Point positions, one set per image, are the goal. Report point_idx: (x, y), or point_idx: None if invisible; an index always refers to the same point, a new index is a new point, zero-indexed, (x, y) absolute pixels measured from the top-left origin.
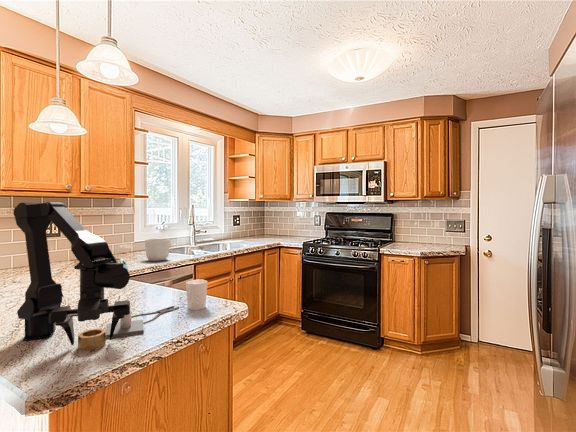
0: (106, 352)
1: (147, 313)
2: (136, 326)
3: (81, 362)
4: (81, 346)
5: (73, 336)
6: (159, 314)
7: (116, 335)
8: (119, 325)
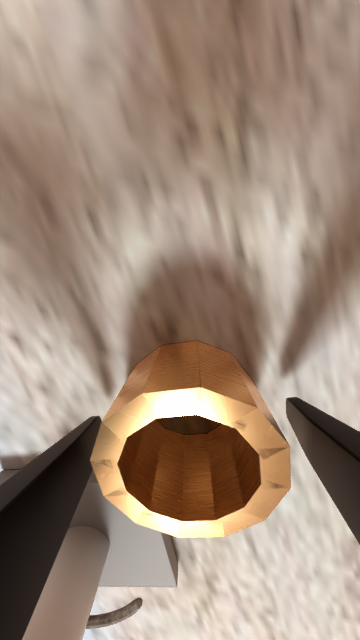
0: (83, 292)
1: None
2: None
3: (178, 169)
4: (232, 362)
5: (323, 458)
6: None
7: None
8: (122, 560)
